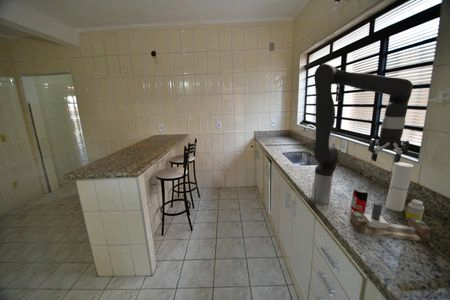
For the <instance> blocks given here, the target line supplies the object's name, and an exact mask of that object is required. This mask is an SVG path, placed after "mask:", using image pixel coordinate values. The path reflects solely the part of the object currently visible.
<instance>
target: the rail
mask: <svg viewBox="0 0 450 300" xmlns="http://www.w3.org/2000/svg"><path fill="white" fill-rule="evenodd" d="M349 223H350V225H351V226H352V227H353V229H354V231H355V232H356V233H358V234H365V235H371V236H372V235H373V236H380V237H386V238H387V237H388V238H396V239H401V240H402V239H403V240H411V241H418V242H419V241H420V242H427V243H428V241H429V240H430V239H429V238H430V236H431V232H432V228H431V227H429V226H428V225H427V224H426V223H425V222H424V221H422V219H421V220H419V219H418V218H414V217H409V220H407V224H406V225H404V224H395V223H388V227H387V228H379V227H371V226H368V225H367V224H366V223H367V222H366V220H365V219H364V218H363V214H362V213H359V212H357V211H353V210H351V214H350V219H349Z"/></svg>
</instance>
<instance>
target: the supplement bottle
mask: <svg viewBox="0 0 450 300" xmlns="http://www.w3.org/2000/svg"><path fill="white" fill-rule="evenodd" d="M424 212H425V207H424V202H423V201H421V200H420V199H411V201H410V202H408V204H407V208H406V212H405V216H404V218H405V220H407V221H408V220H409V217H414V218H418V219H419V220H421V221H422V219H423V216H424Z"/></svg>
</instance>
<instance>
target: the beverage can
mask: <svg viewBox="0 0 450 300" xmlns="http://www.w3.org/2000/svg"><path fill="white" fill-rule="evenodd" d="M352 191H353V192H352V198H351V203H350V209H351V211H357V212H359V213H360V214H364V213H365V212H366V207H367V204H368V203H367V202H368V196H369V194H368V190H367V189H365V188H361V187H355V189H354V190H352Z"/></svg>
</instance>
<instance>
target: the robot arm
mask: <svg viewBox="0 0 450 300" xmlns="http://www.w3.org/2000/svg"><path fill="white" fill-rule="evenodd" d="M313 75H314V76H313V79H314V86H315V141H314V151H313V156H314V159H315V161H317V163H318V164H317V165H316V166H315V168H314V169H315V170H314V178H313V183H312V185H311V186H312V188H311V196H310V197H311V199H312V203H316V204H319V205H328V204H330V200H331V194H332V193H331V192H332V185H333V178H334V172H335V170H336V167H337V162H338V154H339V153H338V149H337V147H335V146H333V145H332V144H331V145H330V136H331V133H332V131H333V129H334V126H335V122H336V121H335V120H336V107H335V102H334V98H333V95H332V85H341V86H348V87H351V88H354V89H358V90H363V91H368V92H372V93H373V92H374V93H380V94H383V95H388V96H389V98H388V103H387V104H386V107H385V111H384V116H383V119H382V122H381V127H380V128H381V129H380V132H379V137H378V139H374V138H371V139H370V141H369V145H368V148H367V151H369V152H370V153H372V154H371V160H372V161H373V162H377V160H378V153H380V152H381V151H383V150H392V151H394V152H395V153H394V158H393V163H394V164H395V163H398V162H401V158H402V155H407V154H408V152H409V146H410V141H409V140H406V139H403V140H402V137H403V134H404V133H403V132H404V128H405V124H406V116H407V111H408V108H409V107H408V106H409V105H408V104H409V102H410V98H411V95H412V92H413V88H414V85H413V82H412V81H411V80H409V79H406V78H399V77H392V76H391V77H389V76H384V75H379V74H373V73H364V72H362V73H361V72H351V71H345V70H342V69H340V68H339V69H338V68H336V67H335V66H332V65H331V64H328V63H327V64H325V63H323V64H321V65H319V66H318V67H316V70H315V71H314V74H313ZM377 143H378V145H376V144H377ZM399 145H401V149H400V147H399Z"/></svg>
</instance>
